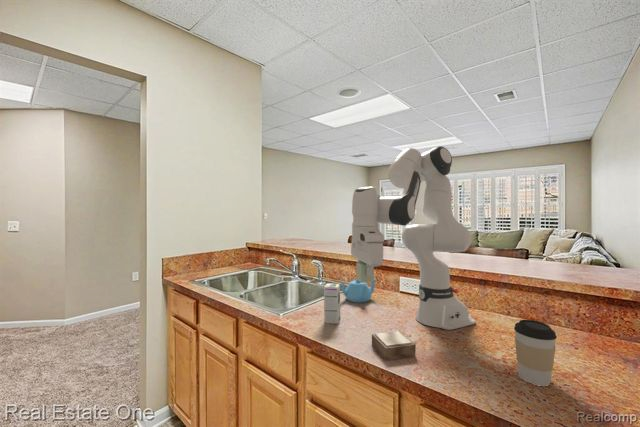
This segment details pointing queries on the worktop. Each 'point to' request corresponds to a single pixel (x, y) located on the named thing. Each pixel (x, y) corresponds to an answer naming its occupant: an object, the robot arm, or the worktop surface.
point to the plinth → (393, 345)
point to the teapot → (358, 291)
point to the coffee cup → (535, 351)
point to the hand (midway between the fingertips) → (365, 274)
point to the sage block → (363, 273)
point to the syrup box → (332, 303)
